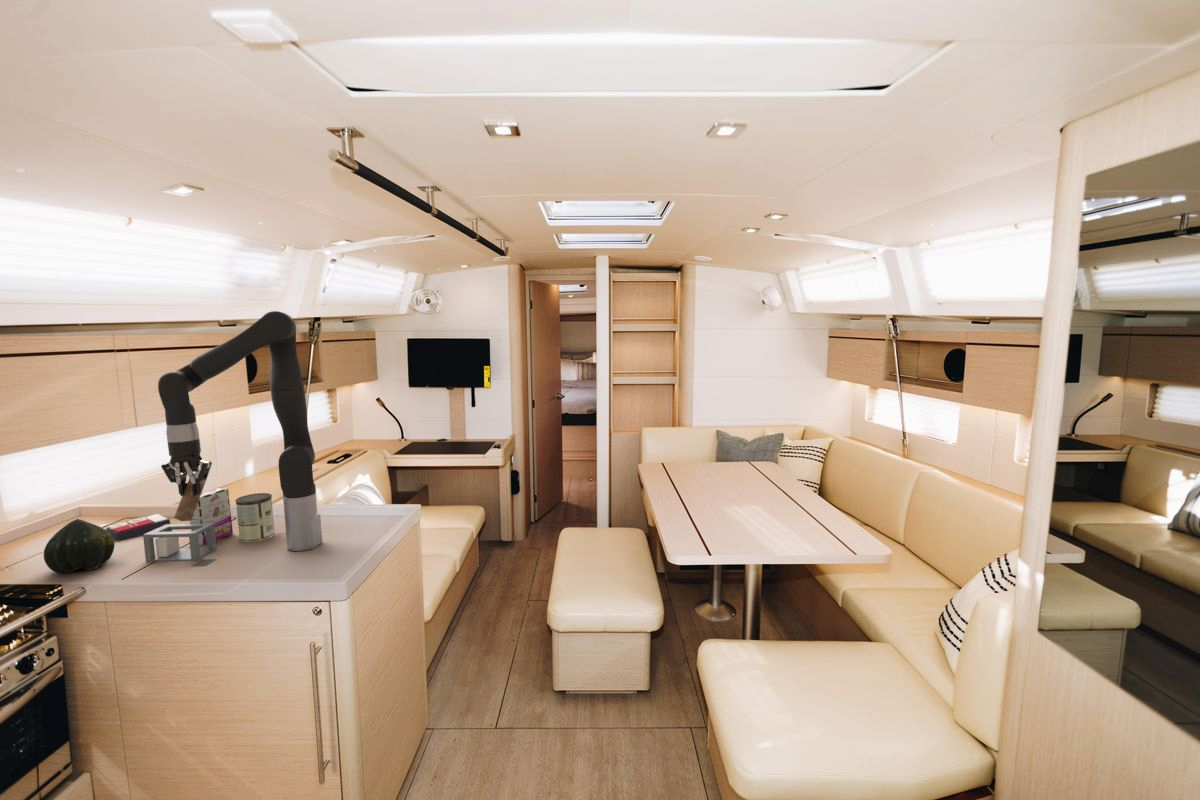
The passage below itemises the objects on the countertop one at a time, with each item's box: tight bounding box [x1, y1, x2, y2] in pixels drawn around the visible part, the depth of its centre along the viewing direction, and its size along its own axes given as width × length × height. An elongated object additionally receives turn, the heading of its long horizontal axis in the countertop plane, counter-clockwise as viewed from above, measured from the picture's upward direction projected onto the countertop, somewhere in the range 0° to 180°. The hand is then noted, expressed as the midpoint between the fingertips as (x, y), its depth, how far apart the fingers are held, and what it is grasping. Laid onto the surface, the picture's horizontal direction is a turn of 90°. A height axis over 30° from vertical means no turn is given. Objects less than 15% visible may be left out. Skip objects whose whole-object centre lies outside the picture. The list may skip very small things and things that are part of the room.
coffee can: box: [235, 492, 276, 543], centre depth 182 cm, size 10×10×14 cm
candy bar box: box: [189, 487, 234, 546], centre depth 180 cm, size 11×5×16 cm, turn 168°
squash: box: [43, 518, 116, 574], centre depth 159 cm, size 14×15×15 cm
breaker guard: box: [142, 523, 218, 563], centre depth 166 cm, size 15×9×9 cm, turn 92°
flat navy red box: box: [105, 513, 171, 542], centre depth 189 cm, size 11×4×15 cm
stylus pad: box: [191, 558, 218, 567], centre depth 161 cm, size 4×5×1 cm
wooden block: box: [173, 477, 208, 522], centre depth 161 cm, size 3×3×14 cm
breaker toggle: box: [154, 537, 181, 557], centre depth 166 cm, size 3×5×7 cm, turn 2°
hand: (190, 495), depth 161 cm, fingers closed on wooden block, 3 cm apart
